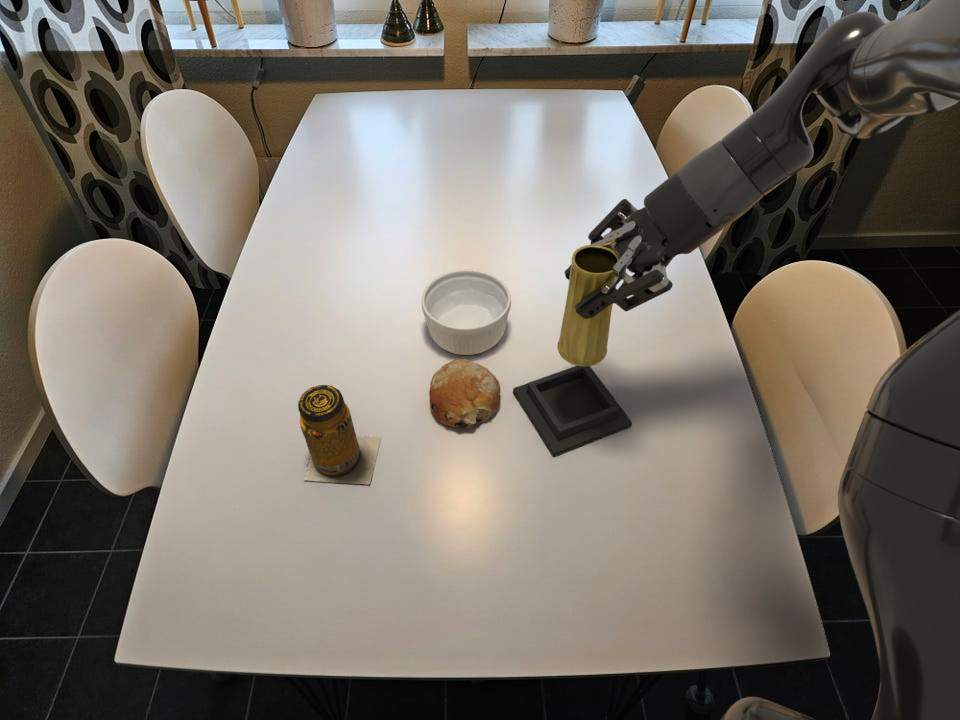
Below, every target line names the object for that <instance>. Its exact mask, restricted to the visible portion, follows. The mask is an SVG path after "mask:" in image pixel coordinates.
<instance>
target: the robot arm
mask: <svg viewBox="0 0 960 720" xmlns="http://www.w3.org/2000/svg"><path fill="white" fill-rule="evenodd" d="M812 93H813V94H815V96H816V98H817V99H818V100H819V101H820V103H821V105H822V106H823V107H824V109H826V111H827V112H828V113H829V115H830V116H831V118H832V119H833V120H834V122H835V123H836V124H837V126H839V128H840V129H841V130H842V131H843V132H844V133H845V134H847V135H848V136H850V137H852V138H855V139H858V140H859V139H860V140H865V139H871V138H874V137H876V136H880V135H882V134H883V133H885V132H887V131H889V130H891V129H892V128H893V127H895V126H897V125H898V124H899V123H900V122H902V121H903V120H904V119H906V118H907V117H915V116H924V115H929V114H933V113H937V112H940V111H943V110H946V109H947V108H949V107H952V106H954V105H956V104H957V103H959V102H960V0H930V1H929V2H927V4H925V5H924V6H923V7H921V8H920V9H918V10H915V11H913V12H910V13H908V14H905V15H902V16H901V17H899V18H896V19H894V20H891V21H889V22H887V23H885V21H884V20H883V19H882V18H881V17H880V16H879V15H878V14H876V13H875V12H872V11H865V10H863V11H857V12H853V13H850V14H847V15H845V16H842V17H840V18H839V19H837V20H836V21H834V22H833V23H831V24H830V25H829V26H828V27H827V28H826V29H824V31H822V32H821V34H820V35H819V36H818V37H817V39H816V40H815V41H814V42H813V43H812V44H811V46H809V48H808V50H807V51H806V52H805V54H804V55H803V56H802V57H801V58H800V60H799V62H798V63H797V64H796V66H795V67H794V68H793V69H792V71H791V72H790V73H789V75H788V76H787V77H786V78H785V79H784V80H783V82H782V83H781V84H780V85H779V86H778V87H777V89H776V90H775V91H774V92H773V93H772V94H771V95H770V96H769V98H768V99H767V100H766V101H765V102H763V103H762V104H761V106H759V107H758V108H757V109H756V110H755V111H754V112H752V114H750V115H749V116H748V117H746V119H745V120H743V121H742V122H741V123H740V124H738V125H737V126H736V127H735V128H733V129H732V130H731V131H729V132H728V133H727V134H726V135H725V136H723V137H722V138H721V140H720V139H719V140H718V141H716V142H715V143H713V145H710V146H709V147H707V148H706V149H704V150H703V151H701V152H699V153H697V154H696V156H694V157H693V158H691V159H690V161H688V162H686V163H685V164H684V165H683V166H681V167H680V168H679V169H678V170H676V171H675V172H674V173H673V174H671V175H670V176H669V177H668V178H667V179H665V180H664V181H663V182H662V183H660V184H659V185H658V186H657V187H656V188H654V189H652V191H650V192H649V193H648V194H647V195H645V197H644V199H643V207H642V208H640V209H637V208H636V207H635V206H634V205H633V204H632V203H631V202H630V201H629V200H628V199H627V198H623V199H621V200H620V201H619V202H618V203H617V204H616V206H614V207H613V208H612V210H610V211H609V212H608V213H607V215H606V216H605V217H604V218H603V219H601V221H600V222H599V223H598V224H597V225H595V227H594V228H593V229H592V230H591V231H590V232H589V233H588V236H587V239H588V240H589V241H590V244H589V245H601V246H605V247H607V248H610V249H612V250H613V251H615V252H616V253H617V254H618V256H619V260H618V262H617V263H616V264H615V265H614V267H613V269H612V271H613V273H612V275H611V276H610V277H609V279H608V280H607V281H606V282H605V284H604V285H603V286H602V288H600V287H599V288H597V289H596V290H595V291H593V292H592V293H591V294H589V295H588V296H587V297H585V298H584V299H583V300H581V301H580V302H579V303H577V304H576V305H575V310H576V313H577V314H579V315H580V316H581V317H583V318H584V319H588V318H589V319H590V318H593V317H594V316H596V315H597V314H599V313H600V312H601V311H603V310H604V309H605V308H607V307H608V306H610V305H611V304H613V305H614V304H615V305H617V306H618V307H619V308H620V309H621V310H623V311H624V312H628V311H631V310H633V309H635V308H637V307H639V306H641V305H643V304H645V303H647V302H649V301H651V300H653V299H655V298H657V297H659V296H661V295H663V294H665V293H667V292H669V291H670V290H671V289H673V286H674V284H673V282H672V281H671V280H670V278H668V276H667V269H666V268H667V267H668V266H669V265H670V263H671V262H672V261H673V259H674V258H675V257H676V256H678V255H689V254H691V253H693V252H694V251H695V250H696V249H698V248H700V247H701V246H702V245H704V244H705V243H706V242H708V241H709V240H711V239H712V238H713V237H715V236H716V235H717V234H719V233H720V232H721V231H723V230H724V229H725V228H727V227H728V226H729V225H731V224H732V223H733V222H735V221H737V220H738V219H739V218H741V217H742V216H744V215H745V214H746V213H747V212H748V211H749V210H750V209H751V208H752V207H753V206H755V205H756V203H758V202H759V201H760V200H761V199H763V198H764V196H767V195H768V194H769V193H771V192H772V191H774V190H775V189H777V188H778V187H779V186H780V185H782V184H783V183H785V182H786V181H788V180H789V179H790V178H792V177H793V176H795V175H796V174H797V173H798V172H799V171H802V169H804V168H805V167H806V166H807V165H808V164H809V163H810V162H811V161H812V160H813V158H814V154H815V150H814V145H813V142H812V140H811V137H810V136H809V133H808V131H807V127H806V126H805V124H804V120H803V110H804V109H803V108H804V106H805V103H806V101H807V99H808V98H809V97H810V95H811V94H812ZM608 229H610V231H609V232H607V233H605V232H606V231H607V230H608ZM604 233H605V234H604ZM603 234H604V235H603ZM602 235H603V236H602ZM570 270H571V264H570V265H569V266H568V268H566V269H565V270H564V276H565V278H566V279H567V280H568V281H569V277H570ZM627 270H628V271H629V272H630V273H631V274H632V273H633V275H630V274H628V273H627ZM622 280H623V281H622ZM621 281H622V283H621V284H620V282H621ZM618 284H620V285H619V287H618V288H617V286H618ZM615 287H616V288H615ZM866 409H867V410H865V411H864V414H863V417H862V420H861V422H860V425H859V428H858V430H857V433H856V436H855V439H854V440H853V444H852V446H851V449H850V451H849V454H848V457H847V460H846V464H845V465H844V469H843V472H842V475H841V477H840V480H839V485H838V491H837V506H838V507H837V508H838V517H839V522H840V527H841V531H842V535H843V540H844V542H845V547H846V550H847V554H848V557H849V561H850V564H851V567H852V570H853V573H854V575H855V579H856V580H857V584H858V588H859V590H860V594H861V597H862V599H863V602H864V606H865V608H866V611H867V615H868V619H869V622H870V626H871V630H872V633H873V638H874V641H875V647H876V653H877V658H878V664H879V687H878V693H877V694H878V695H877V700H876V704H875V708H874V711H873V713H872V717H871V719H870V720H960V308H959V309H957V310H956V311H954V312H953V313H952V314H950V315H949V316H948V317H947V318H945V319H944V320H943V321H941V322H940V323H938V324H937V325H936V326H935V327H933V328H932V329H931V330H930V331H928V332H927V333H926V334H925V335H923V336H922V337H920V339H918V340H917V341H915V342H914V343H913V344H912V345H911V346H909V347H908V348H907V349H906V350H905V351H904V352H903V353H902V354H901V355H900V356H898V357H897V359H896V360H894V361H893V363H892V364H891V365H890V366H889V367H888V368H887V369H886V370H885V372H884V373H883V374H882V375H881V377H880V378H879V380H878V381H877V383H876V385H875V386H874V389H873V391H872V393H871V395H870V398H869V400H868V403H867V406H866ZM719 720H817V718H814V717H811V716H810V715H809V716H808V715H806V714H803V713H801V712H798V711H796V710H794V709H791V708H788V707H787V706H784V705H781V704H780V703H776V702H773V701H770V700H768V699H765V698H763V697H758V696H746V697H743V698H740V699H738V700H736V701H735V702H734V703H732V704H731V705H730V707H729V708H728V709H727V710H726V711H725V712H724V713H723V715H722V716H721V718H720V719H719Z"/></svg>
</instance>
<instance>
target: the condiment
mask: <svg viewBox="0 0 960 720" xmlns="http://www.w3.org/2000/svg"><path fill="white" fill-rule="evenodd" d="M297 409H298V412H299V425H300V428H301V432H302V435H303V437H304V439H305V443H306V446H307V450H308V452H309V455H310V460H309V464H308V467H307V469H306V473H305V476H304V481H308V482H309V481H310V482H317V483H318V482H322V483H333V484H334V483H337V484H340V483H342V484H344V483H345V484H353V485H371V481H372V478H373V474H374V469H375V466H376V462H377V457H378V452H379V449H380V444H381V438H382V437H377V436H361V435H357V434H356V431H355V427H354V422H353V418H352V414H351V411H350V408H349V406H348V404H347V403H346V402H345V399H344V396H343V394H342V392H341V391H340V390H339V389H338V388H337V387H335V386H332V385H329V384H318V385H315V386H312V387H310V388H308V389H307V390H305V391H304V392H303V393H302V394H301V396H300V398H299V400H298V404H297Z"/></svg>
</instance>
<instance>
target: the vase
mask: <svg viewBox="0 0 960 720" xmlns="http://www.w3.org/2000/svg"><path fill="white" fill-rule="evenodd" d="M618 260H619V256H618V254H617V253H616V252H615V251H613V250H612V249H610V248H607V247H605V246H601V245H590V244H586V245H582V246H580V247H578V248H576V250H575V251H574V252H573V253H572V255H571V264H570V265H571V270H570V277H569V280H568V289H567V293H566V300H565V306H564V312H563V316H562V321H561V328H560V334H559V339H558V342H557V352H558V354H559V355H560V357H561V358H562V359H563V360H564V361H565V362H567V363H568V364H571V365H572V366H582V367H585V366H590V367H591V366H592V367H593V366H595V365H598V364H600V363H601V362H602V361H603V360H604V359H605V358H606V356H607V353H608V343H609V336H610V328H611V319H612V313H613V312H612V311H613V305H614V304H611V305H610V306H608V307H607V308H605V309H604V310H603V311H601V312H600V313H599V314H597V315H596V316H594V317H593V318H590V319H589V318H588V319H584V318H583V317H581V316H580V315H579V314H577V313H576V310H575V305H576V304H577V303H579V302H580V301H581V300H583V299H584V298H585V297H587V296H588V295H589V294H591V293H592V292H593V291H595V290H596V289H597V288H599V287H600V288H602V286H603V285H604V284H605V282H606V281H607V280H608V279H609V277H610V276H611V275H612V273H613V271H612V269H613V267H614V265H615V264H616V263H617V262H618ZM615 288H616V289H617V286H616V287H615Z"/></svg>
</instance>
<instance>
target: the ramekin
mask: <svg viewBox="0 0 960 720" xmlns="http://www.w3.org/2000/svg"><path fill="white" fill-rule="evenodd" d="M511 296H512V295H511V292H510V290H509V288H508V286H507V285H506V283H504V281H502V280H501V279H500V278H498V277H497V276H495V275H494V274H491V273H489V272H486V271H482V270H477V269H455V270H451V271H448V272H444V273H442V274H440V275H438V276H436V277H434V278H433V279H432V280H431V281H430V282H429V283H428V284H427V285H426V286H425V288H424V289H423V292H422V294H421V310H422V313H423V316H424V318H425V321H426V326H427V329H428V331H429V334H430V337H431V339H432V340H433V342H435V344H437V345H438V347H440V348H441V349H443V350H445V351H446V352H449V353H451V354H455V355H461V356H472V355H478V354H481V353H484V352H487V351H488V350H490V349H492V348H493V347H494V346H496V345H498V343H499V342H500V341H501V339H502V338H503V335H504V333H505V330H506V327H507V323H508V317H509V314H510V311H511V307H512V297H511Z"/></svg>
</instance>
